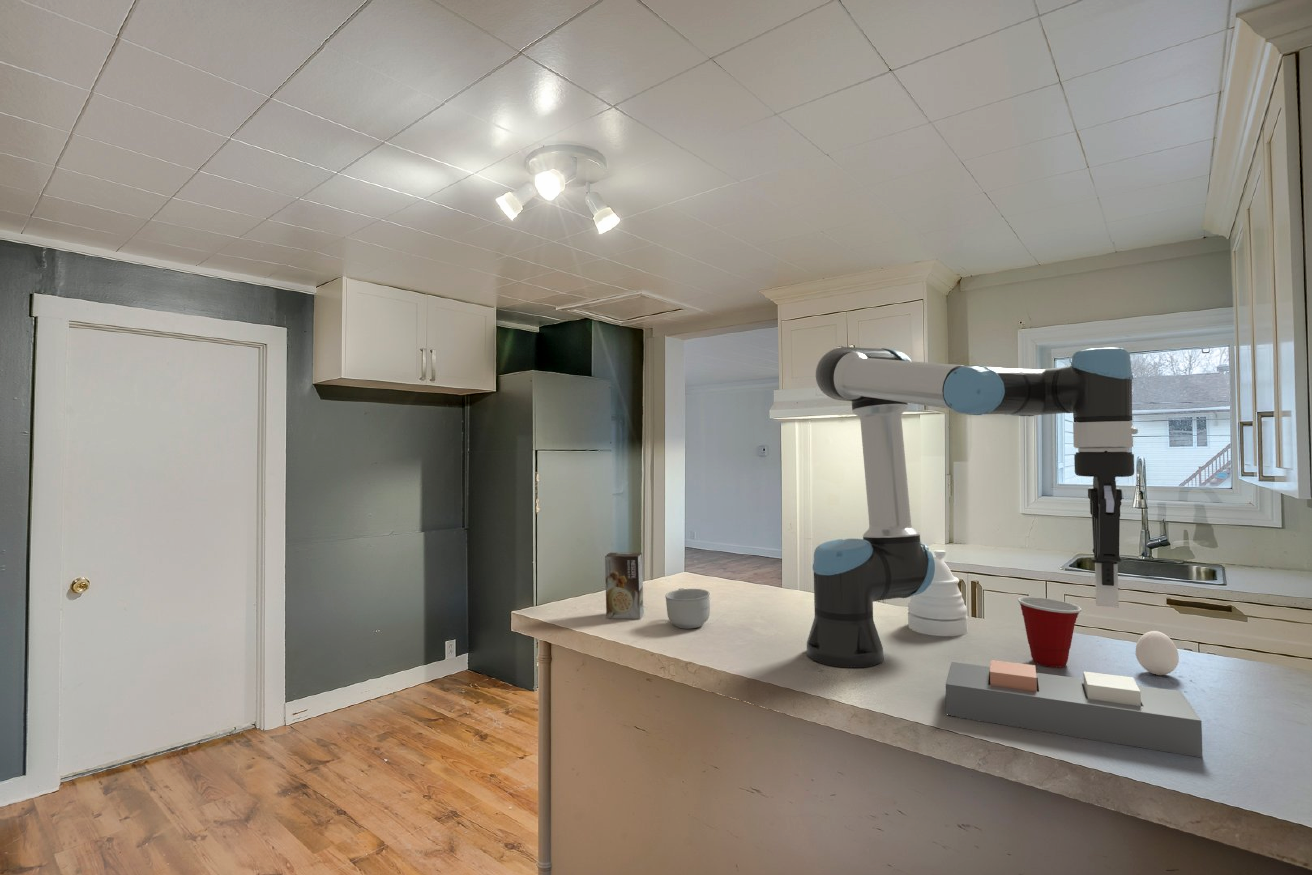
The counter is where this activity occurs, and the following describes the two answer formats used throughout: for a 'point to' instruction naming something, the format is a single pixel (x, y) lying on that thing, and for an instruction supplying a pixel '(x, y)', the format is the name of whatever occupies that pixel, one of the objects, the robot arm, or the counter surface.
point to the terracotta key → (1013, 675)
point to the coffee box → (624, 585)
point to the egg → (1157, 653)
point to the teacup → (688, 607)
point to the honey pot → (939, 604)
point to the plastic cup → (1049, 629)
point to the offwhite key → (1111, 688)
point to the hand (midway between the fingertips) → (1107, 605)
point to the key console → (1076, 711)
